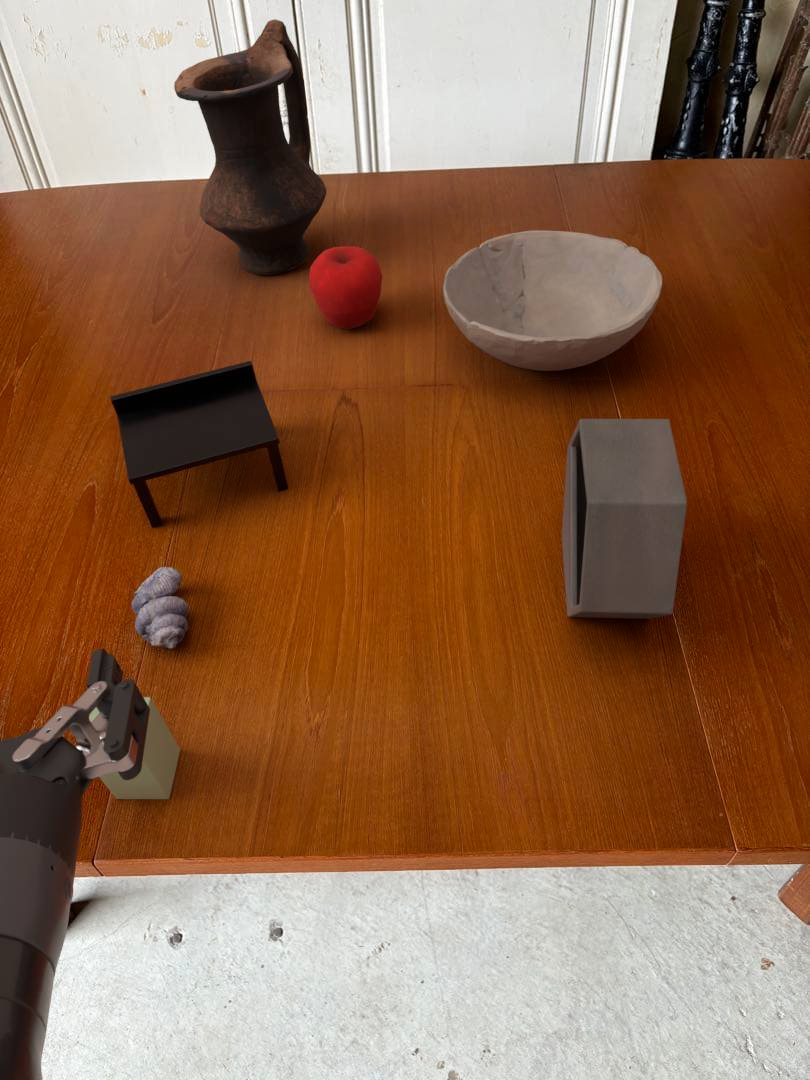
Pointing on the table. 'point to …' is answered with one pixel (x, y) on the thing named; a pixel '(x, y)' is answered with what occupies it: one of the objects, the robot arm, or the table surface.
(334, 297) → the apple
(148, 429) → the bench
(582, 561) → the grey open box
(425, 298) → the table surface
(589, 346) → the bowl
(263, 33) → the jug
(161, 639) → the seashell
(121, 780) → the block
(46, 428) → the table surface
